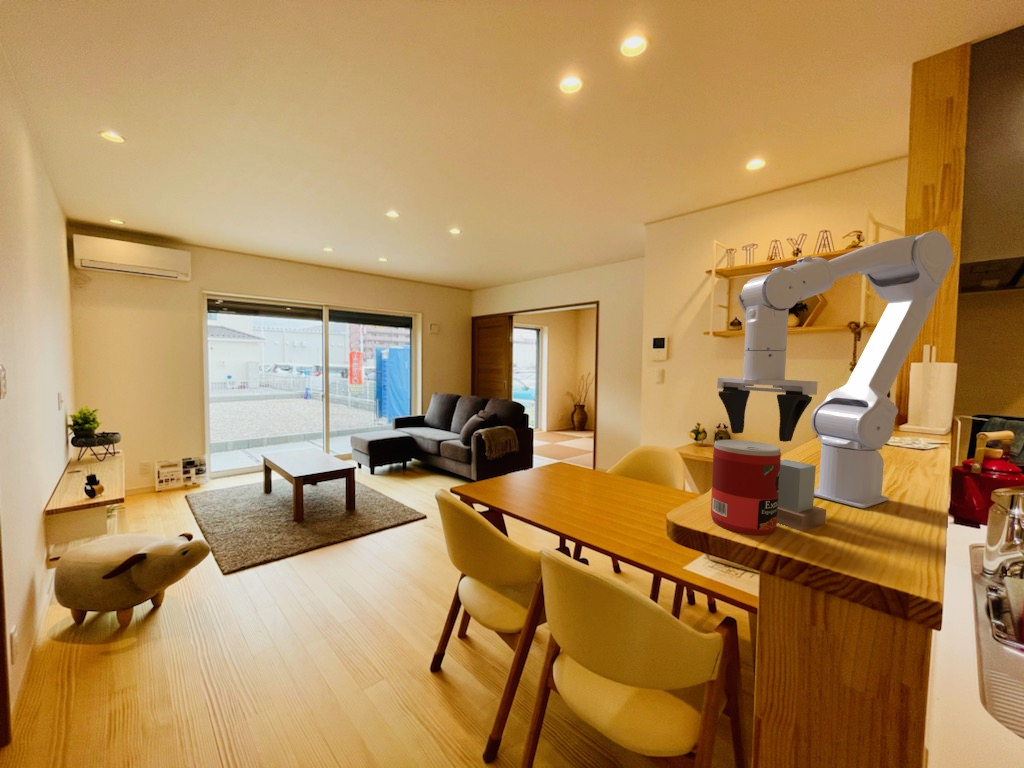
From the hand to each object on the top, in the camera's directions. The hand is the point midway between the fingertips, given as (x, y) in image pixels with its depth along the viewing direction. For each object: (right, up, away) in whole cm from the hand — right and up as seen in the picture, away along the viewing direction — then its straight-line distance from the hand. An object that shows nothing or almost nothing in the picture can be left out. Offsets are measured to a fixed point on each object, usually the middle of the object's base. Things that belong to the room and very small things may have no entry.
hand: (760, 436), depth 68 cm
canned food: (-8, -11, -10) cm, 17 cm away
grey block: (0, -9, -8) cm, 12 cm away
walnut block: (0, -11, -8) cm, 14 cm away
